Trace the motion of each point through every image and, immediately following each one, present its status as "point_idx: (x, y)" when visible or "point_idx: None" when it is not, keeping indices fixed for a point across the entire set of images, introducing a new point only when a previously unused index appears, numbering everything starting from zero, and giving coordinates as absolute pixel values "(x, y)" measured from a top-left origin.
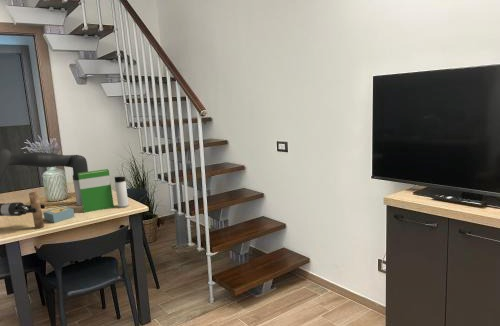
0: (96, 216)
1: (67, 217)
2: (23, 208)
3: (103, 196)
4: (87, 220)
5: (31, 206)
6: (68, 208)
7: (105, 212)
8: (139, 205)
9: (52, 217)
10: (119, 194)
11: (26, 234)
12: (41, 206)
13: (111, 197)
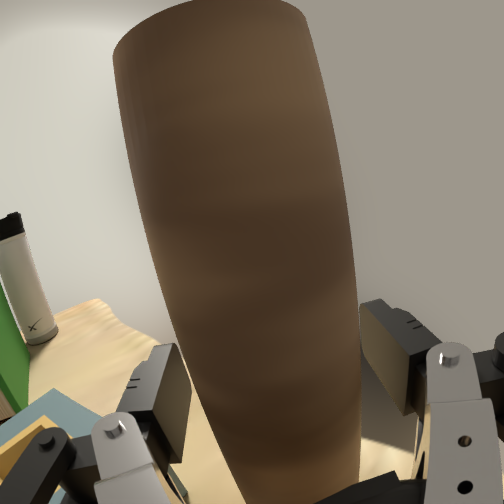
0: (124, 352)
1: None
2: (477, 499)
3: (3, 313)
4: None
5: (359, 338)
6: (23, 416)
7: (81, 350)
8: (62, 313)
9: None
10: (36, 282)
11: None
12: (176, 384)
13: (11, 314)
